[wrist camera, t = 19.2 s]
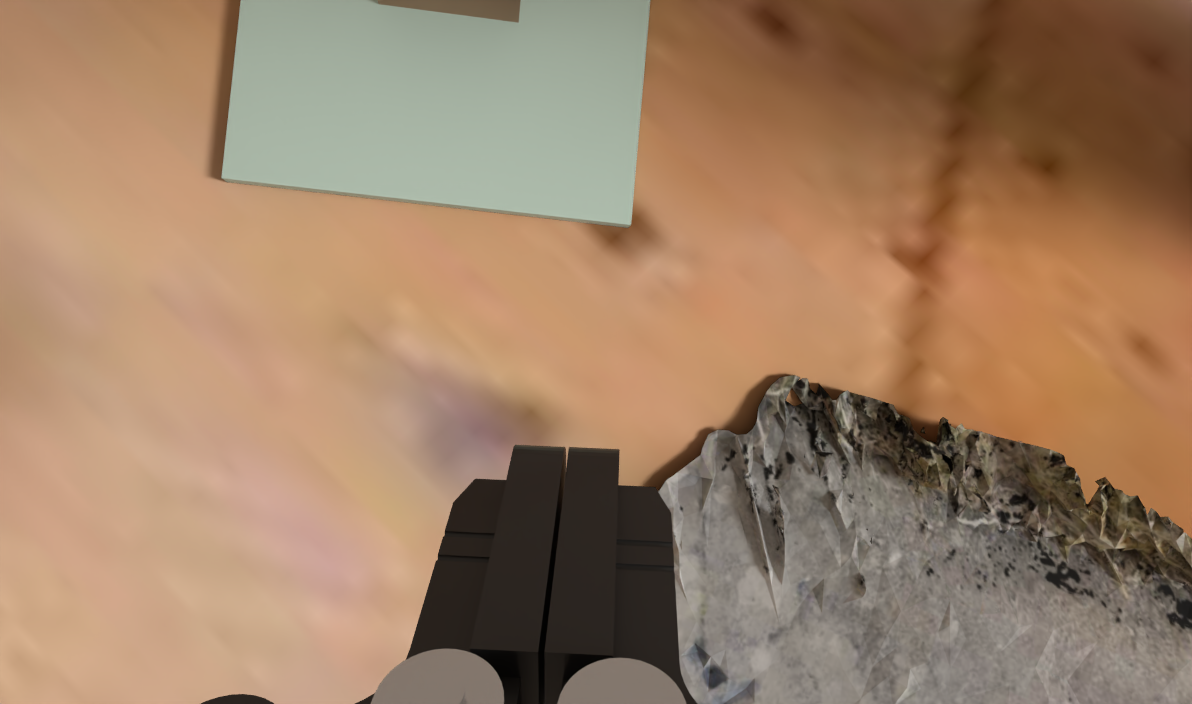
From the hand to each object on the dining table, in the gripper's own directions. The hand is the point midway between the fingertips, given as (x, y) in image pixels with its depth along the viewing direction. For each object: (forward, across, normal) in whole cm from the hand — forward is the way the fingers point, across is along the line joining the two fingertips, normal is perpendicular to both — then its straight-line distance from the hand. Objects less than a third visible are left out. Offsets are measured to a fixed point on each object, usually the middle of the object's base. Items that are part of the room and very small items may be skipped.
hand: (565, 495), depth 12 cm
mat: (+21, +5, -7) cm, 23 cm away
